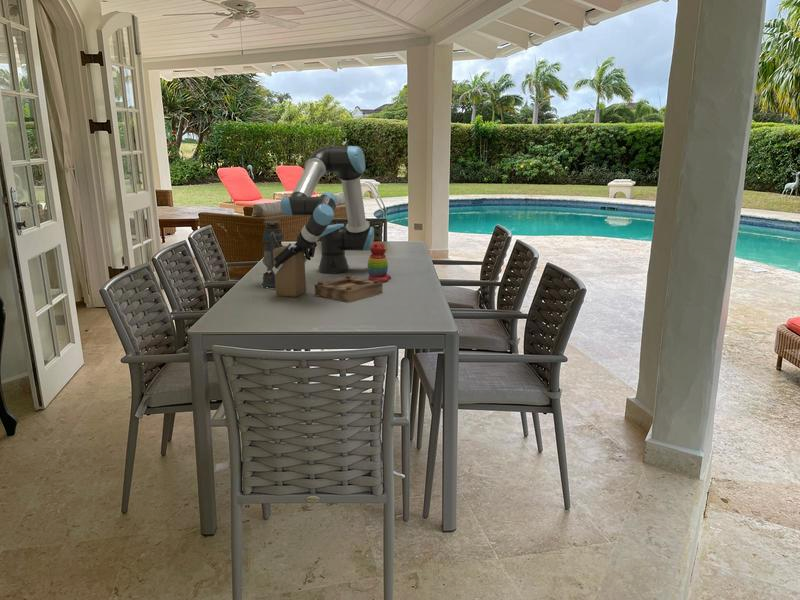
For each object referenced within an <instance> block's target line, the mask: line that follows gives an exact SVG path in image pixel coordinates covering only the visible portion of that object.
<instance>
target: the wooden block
mask: <svg viewBox="0 0 800 600" xmlns="http://www.w3.org/2000/svg"><path fill="white" fill-rule="evenodd" d="M287 246H288V245H283V246H282V247H279V248H276V249H274V250H273V259H274V258H275V257H276V256H278V255H279V254H280V253H281V252H282V251H283V250H284V249H285V248H286V247H287ZM294 252H296V251H295V250H294ZM304 255H305V254H304V252H300V253H298V254H297V255H293V256H292V257H291V258H289V259H288V260H286V261H285V262H284V263H283V265H282V267H281V268H280V270H279V271H278V273H277V274H275V273H274V275H275V296H277V297H286V296H290V298H297V297H299V296H301V295H303V294H305V293H306V292H307V286H306V285H307V282H306V262H305V260H304ZM275 263H276V262H275V260H274V265H275Z"/></svg>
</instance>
